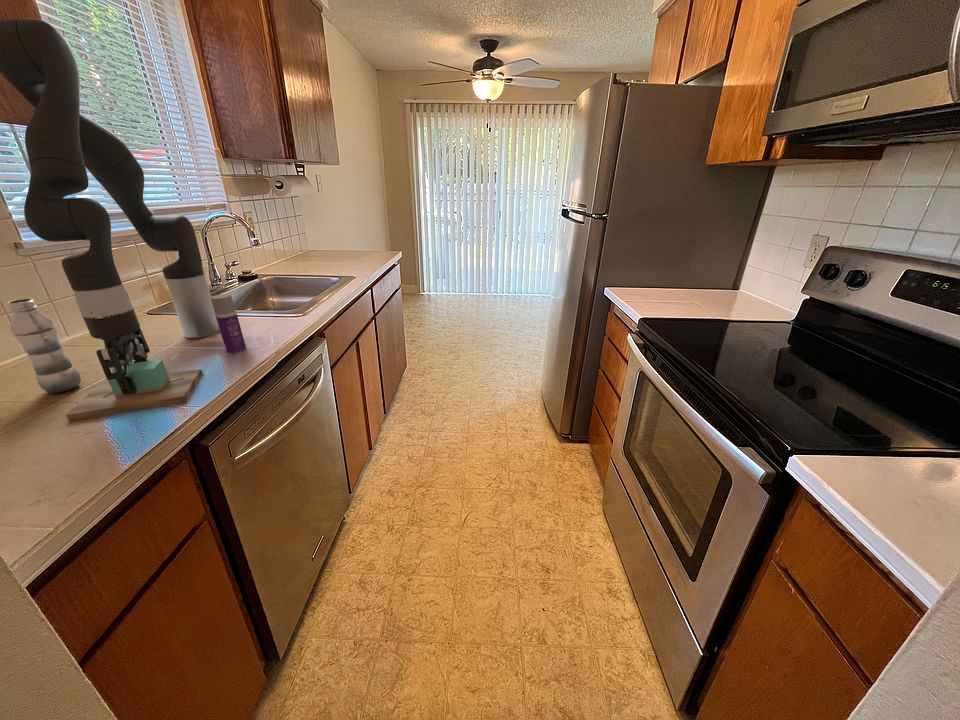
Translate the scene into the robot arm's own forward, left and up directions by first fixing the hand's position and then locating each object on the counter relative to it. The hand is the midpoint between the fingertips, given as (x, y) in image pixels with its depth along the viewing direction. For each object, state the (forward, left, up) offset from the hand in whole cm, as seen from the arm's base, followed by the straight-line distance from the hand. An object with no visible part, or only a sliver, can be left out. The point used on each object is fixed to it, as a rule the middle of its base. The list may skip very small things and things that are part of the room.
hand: (138, 384), depth 83 cm
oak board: (0, 0, -3) cm, 3 cm away
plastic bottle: (-10, -18, -3) cm, 20 cm away
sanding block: (0, +1, -1) cm, 1 cm away
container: (-20, +14, -3) cm, 25 cm away
